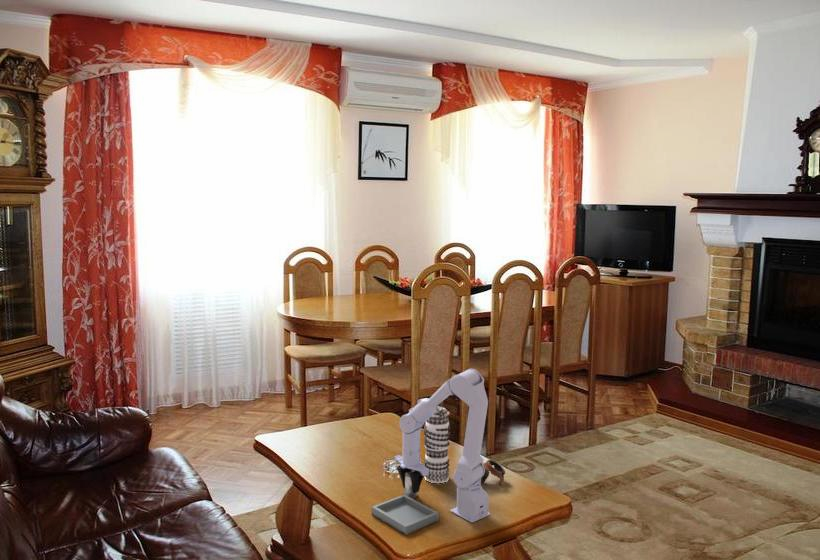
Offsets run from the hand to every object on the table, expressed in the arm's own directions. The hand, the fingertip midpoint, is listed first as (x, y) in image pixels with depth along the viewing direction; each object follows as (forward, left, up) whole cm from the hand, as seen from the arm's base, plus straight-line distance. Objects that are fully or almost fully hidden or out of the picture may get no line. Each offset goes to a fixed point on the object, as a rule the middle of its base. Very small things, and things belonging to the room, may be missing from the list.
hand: (411, 489), depth 218 cm
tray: (-10, +11, -2) cm, 15 cm away
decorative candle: (+4, -15, -2) cm, 16 cm away
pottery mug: (-9, -26, -2) cm, 28 cm away
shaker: (0, 0, -2) cm, 2 cm away
